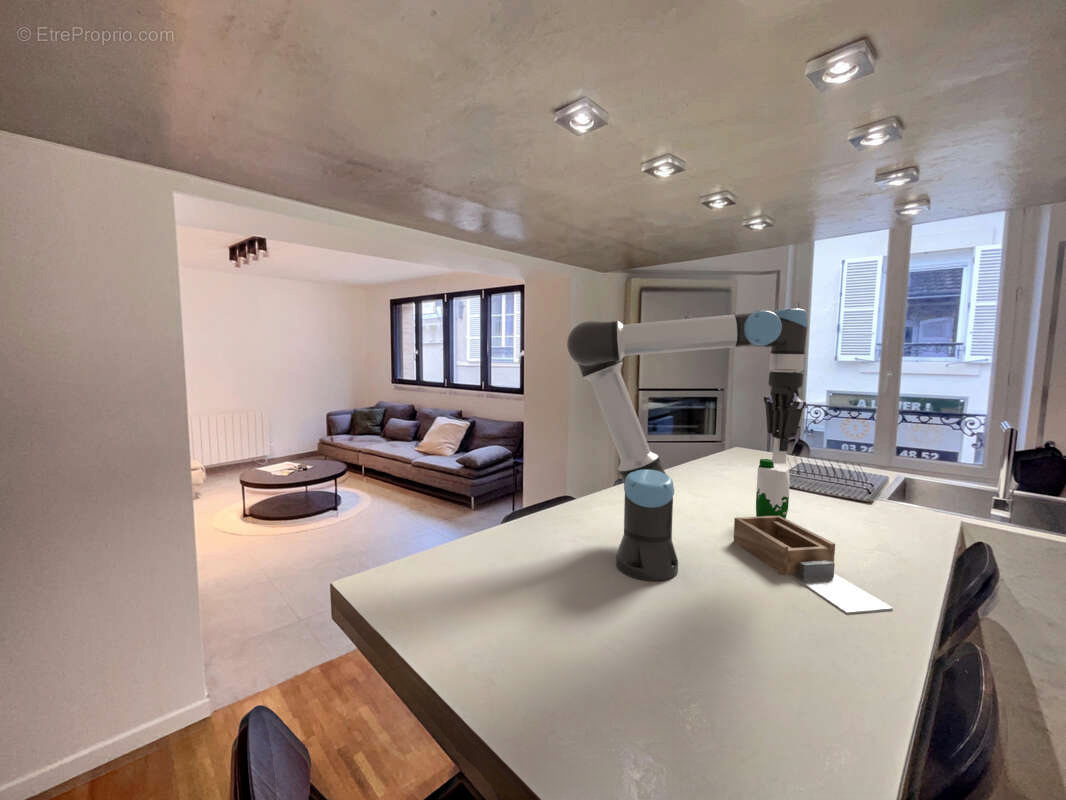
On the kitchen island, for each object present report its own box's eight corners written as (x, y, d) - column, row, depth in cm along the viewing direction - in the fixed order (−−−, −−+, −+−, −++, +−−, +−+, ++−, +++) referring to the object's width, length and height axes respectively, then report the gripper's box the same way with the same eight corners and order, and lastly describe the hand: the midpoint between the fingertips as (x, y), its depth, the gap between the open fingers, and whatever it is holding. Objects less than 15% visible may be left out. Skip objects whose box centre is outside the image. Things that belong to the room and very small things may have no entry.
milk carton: (758, 515, 149) (761, 456, 147) (789, 521, 144) (792, 460, 142) (752, 523, 142) (755, 461, 140) (784, 529, 137) (788, 465, 135)
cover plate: (846, 616, 91) (848, 596, 91) (788, 576, 108) (789, 559, 108) (892, 612, 93) (894, 592, 93) (827, 573, 110) (828, 556, 109)
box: (781, 574, 108) (783, 547, 107) (733, 541, 128) (734, 517, 127) (833, 571, 110) (835, 543, 109) (777, 538, 130) (779, 515, 129)
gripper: (819, 372, 106) (810, 469, 109) (782, 370, 119) (775, 457, 122) (790, 372, 106) (782, 469, 108) (756, 370, 118) (749, 457, 121)
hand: (778, 462), depth 115 cm, fingers closed
